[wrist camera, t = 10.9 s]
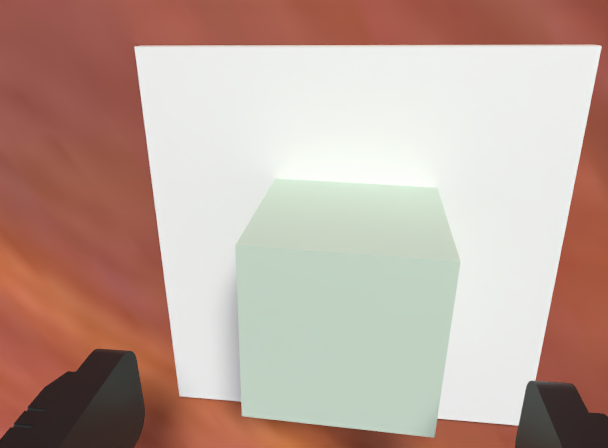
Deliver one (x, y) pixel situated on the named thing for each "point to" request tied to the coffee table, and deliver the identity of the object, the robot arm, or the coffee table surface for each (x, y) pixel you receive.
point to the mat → (371, 182)
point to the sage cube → (346, 305)
